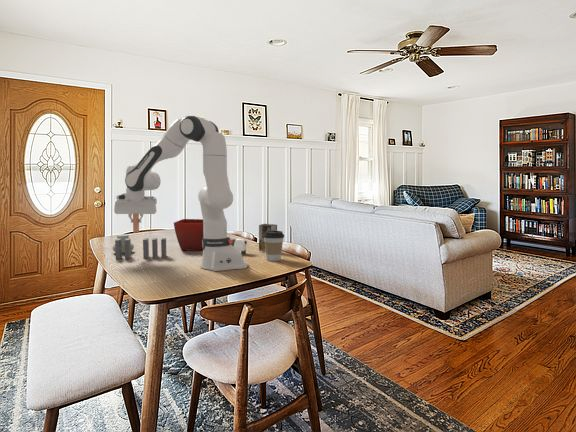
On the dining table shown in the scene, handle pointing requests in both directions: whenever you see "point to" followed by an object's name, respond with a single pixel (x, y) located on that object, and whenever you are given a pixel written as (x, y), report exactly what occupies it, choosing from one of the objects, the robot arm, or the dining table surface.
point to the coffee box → (262, 231)
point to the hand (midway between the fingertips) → (136, 222)
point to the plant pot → (189, 233)
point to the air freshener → (123, 243)
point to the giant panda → (239, 245)
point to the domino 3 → (135, 223)
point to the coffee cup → (273, 244)
